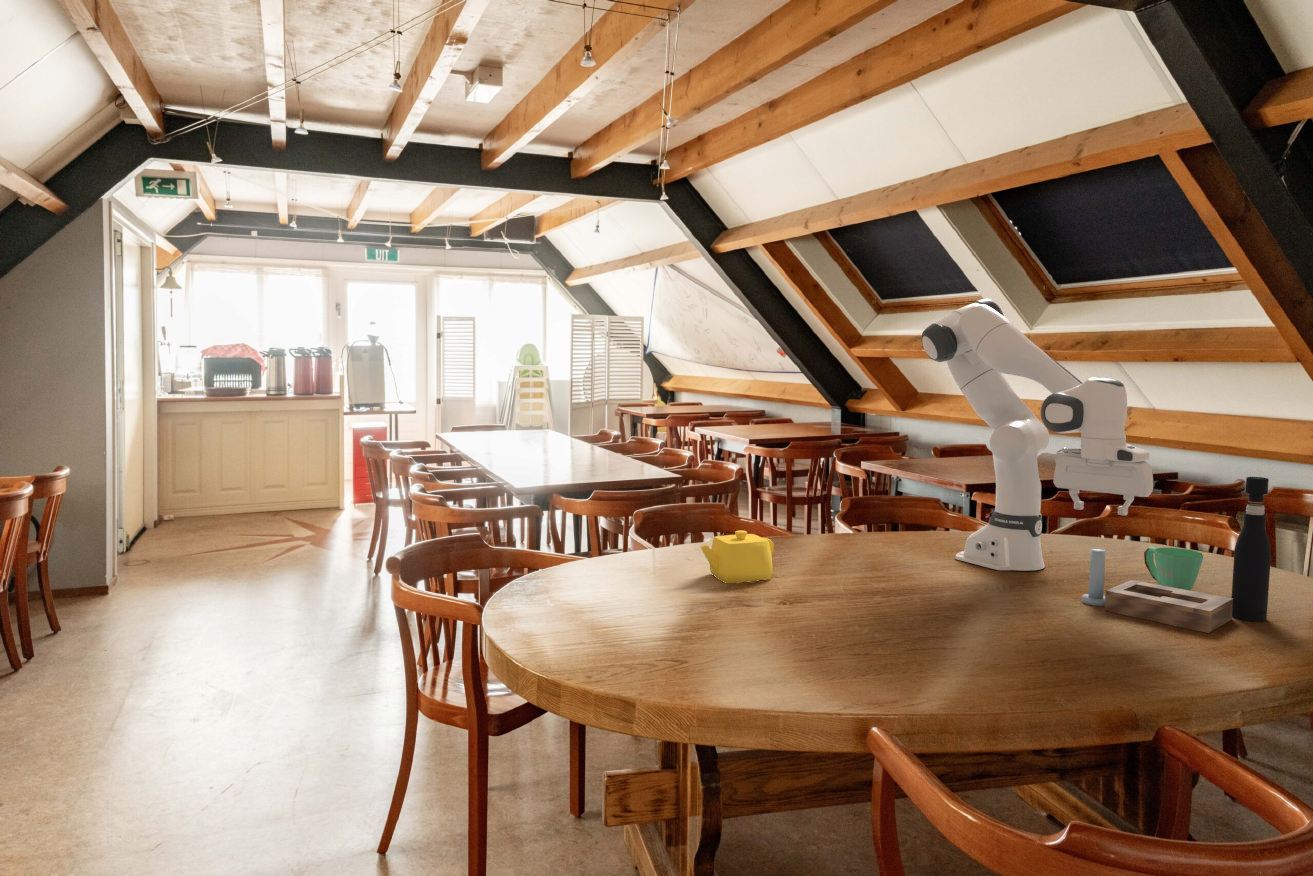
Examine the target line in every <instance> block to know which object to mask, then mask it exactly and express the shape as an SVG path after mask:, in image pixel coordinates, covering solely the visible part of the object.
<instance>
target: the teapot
mask: <svg viewBox="0 0 1313 876" xmlns="http://www.w3.org/2000/svg"><path fill="white" fill-rule="evenodd" d="M712 540H713V541H712V544H711V547H709V545H708V544H703V545H701V546H699V547H700V550H701V552H702V553H703V554H704V557H705V558H706V560H707V561H708V564H709V570H710V574H711V573H712V574H713V575H715V576H716V577H717V578H719V579H720V580H722V581H724V582H726V583H736V584H738V583H737V582H747V581H757V580H764V579H770V578H772V576H773V568H774V567H773V552H774V549H775V544H774V542H773V541H772V540H771V539H769V538H767V537H761V536H759V535H757V534H754V533H748V531H746V530H736V531H734V534H726V535H716V536H713V539H712ZM717 578H716V579H717ZM720 580H719V581H720ZM770 580H771V579H770ZM722 581H721V582H722ZM724 582H723V583H724ZM726 583H725V584H726Z"/></svg>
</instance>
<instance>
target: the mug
mask: <svg viewBox="0 0 1313 876" xmlns="http://www.w3.org/2000/svg"><path fill="white" fill-rule="evenodd" d="M1143 555H1144V556H1143V558H1144V559H1143V560H1144V565H1145V566H1146V568H1147V570H1148V573H1149V574H1150V575H1151V577H1152V579H1153V580H1154V581H1156V582H1157V583H1158V585H1162V586H1168V587H1173V588H1178V589H1184V590H1189V591H1193V588H1194V585H1195V583H1196V581H1197V579H1198V576H1199V573H1200V569H1201V566H1202V563H1203V560H1204V554H1203V553H1202V552H1201V551H1196V550H1192V549H1188V548H1179V547H1155V546H1153V545H1152V546H1148V547H1147V548H1146V549H1145V550H1144V552H1143Z"/></svg>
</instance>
